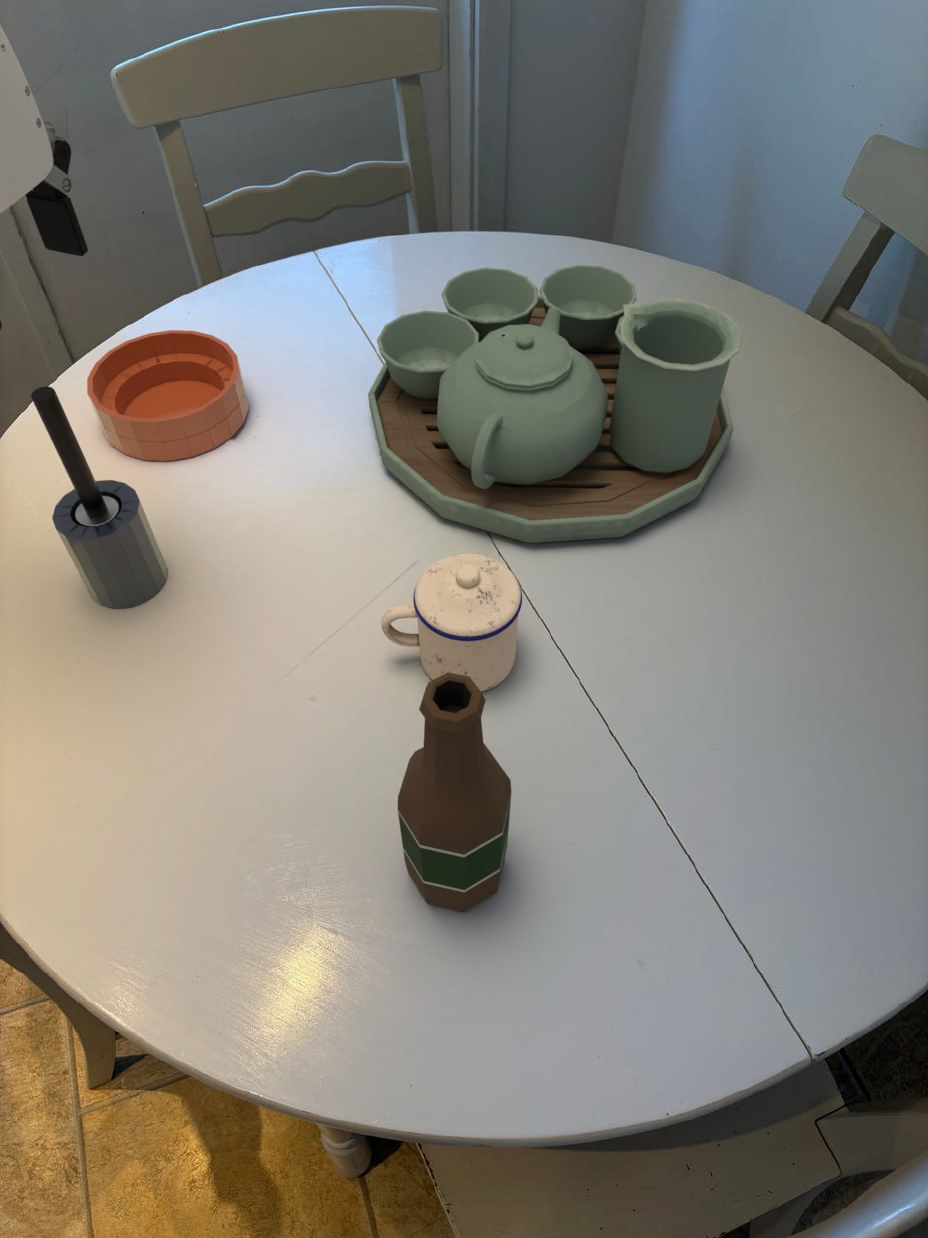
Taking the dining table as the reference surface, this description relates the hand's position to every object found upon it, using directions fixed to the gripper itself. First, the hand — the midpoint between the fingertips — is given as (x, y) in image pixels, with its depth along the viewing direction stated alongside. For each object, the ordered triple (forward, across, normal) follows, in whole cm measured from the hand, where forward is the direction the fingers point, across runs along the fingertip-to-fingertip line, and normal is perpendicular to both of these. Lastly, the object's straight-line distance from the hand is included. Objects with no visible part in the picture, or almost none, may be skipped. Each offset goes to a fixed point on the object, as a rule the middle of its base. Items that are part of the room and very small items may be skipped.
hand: (26, 287), depth 60 cm
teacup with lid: (+32, -2, +30) cm, 44 cm away
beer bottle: (+32, +17, +36) cm, 51 cm away
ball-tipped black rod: (+32, 0, -3) cm, 32 cm away
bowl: (+32, -24, -11) cm, 42 cm away
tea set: (+32, -36, +29) cm, 57 cm away
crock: (+32, 0, -3) cm, 33 cm away
